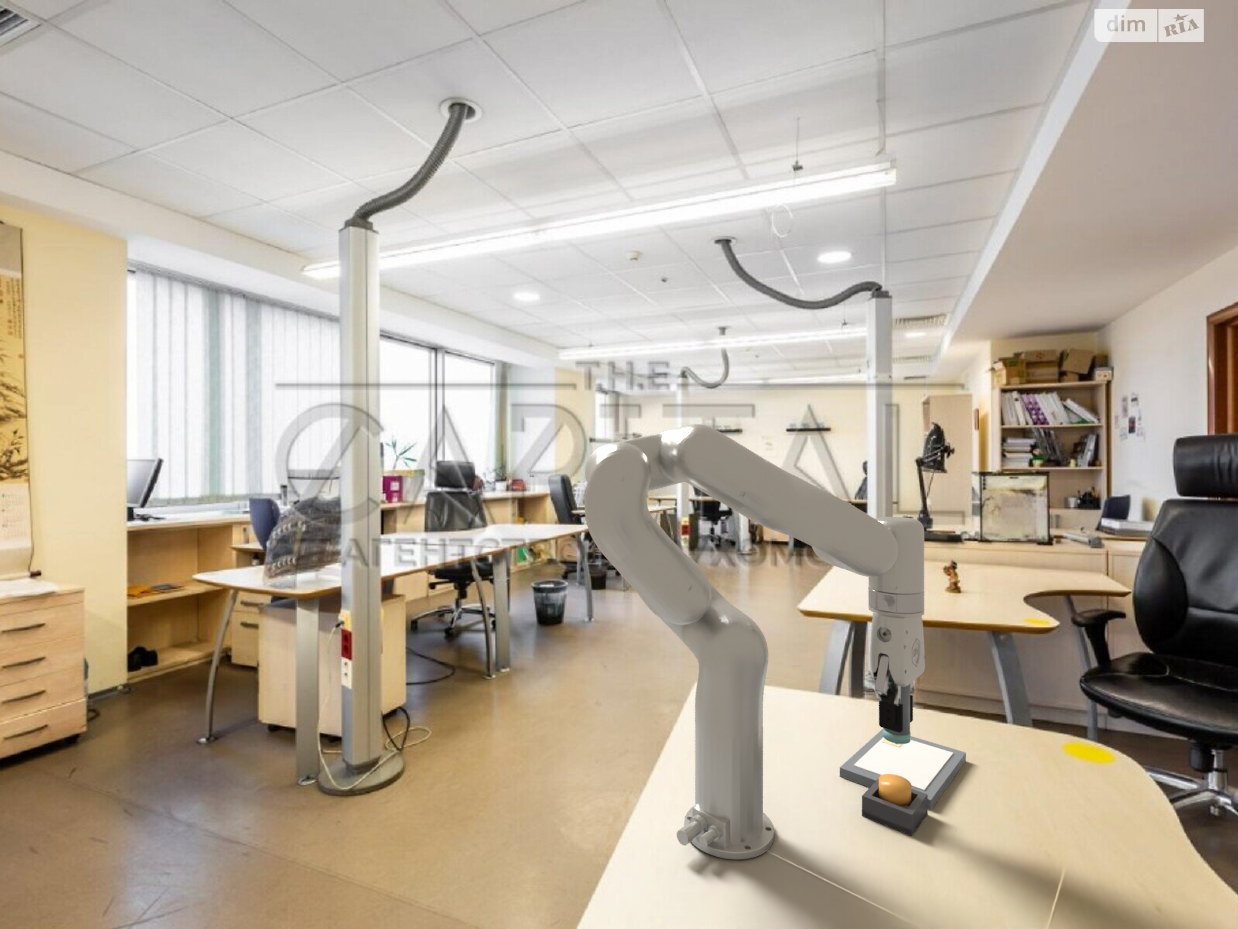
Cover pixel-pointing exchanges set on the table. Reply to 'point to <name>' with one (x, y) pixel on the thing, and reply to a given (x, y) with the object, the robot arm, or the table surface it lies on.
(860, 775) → the drawing board
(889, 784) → the button
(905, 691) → the marker
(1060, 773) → the table surface
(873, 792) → the button housing
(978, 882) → the table surface
